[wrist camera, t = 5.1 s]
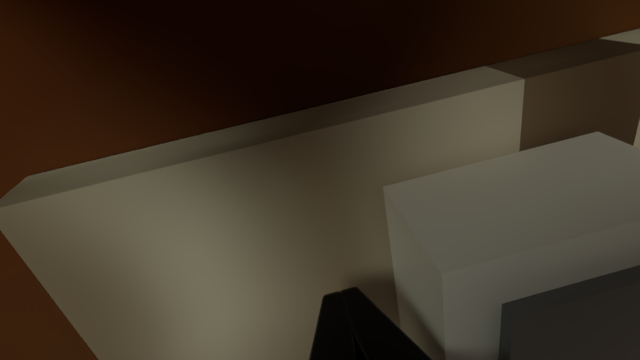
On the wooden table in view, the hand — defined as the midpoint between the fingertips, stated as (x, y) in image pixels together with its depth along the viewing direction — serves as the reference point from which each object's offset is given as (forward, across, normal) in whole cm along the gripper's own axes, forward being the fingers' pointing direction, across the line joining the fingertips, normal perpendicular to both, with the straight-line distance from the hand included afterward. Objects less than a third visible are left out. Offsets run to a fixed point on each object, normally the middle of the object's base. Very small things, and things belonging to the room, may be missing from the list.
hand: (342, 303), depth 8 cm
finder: (+1, -4, 0) cm, 4 cm away
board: (+2, -3, +2) cm, 4 cm away
